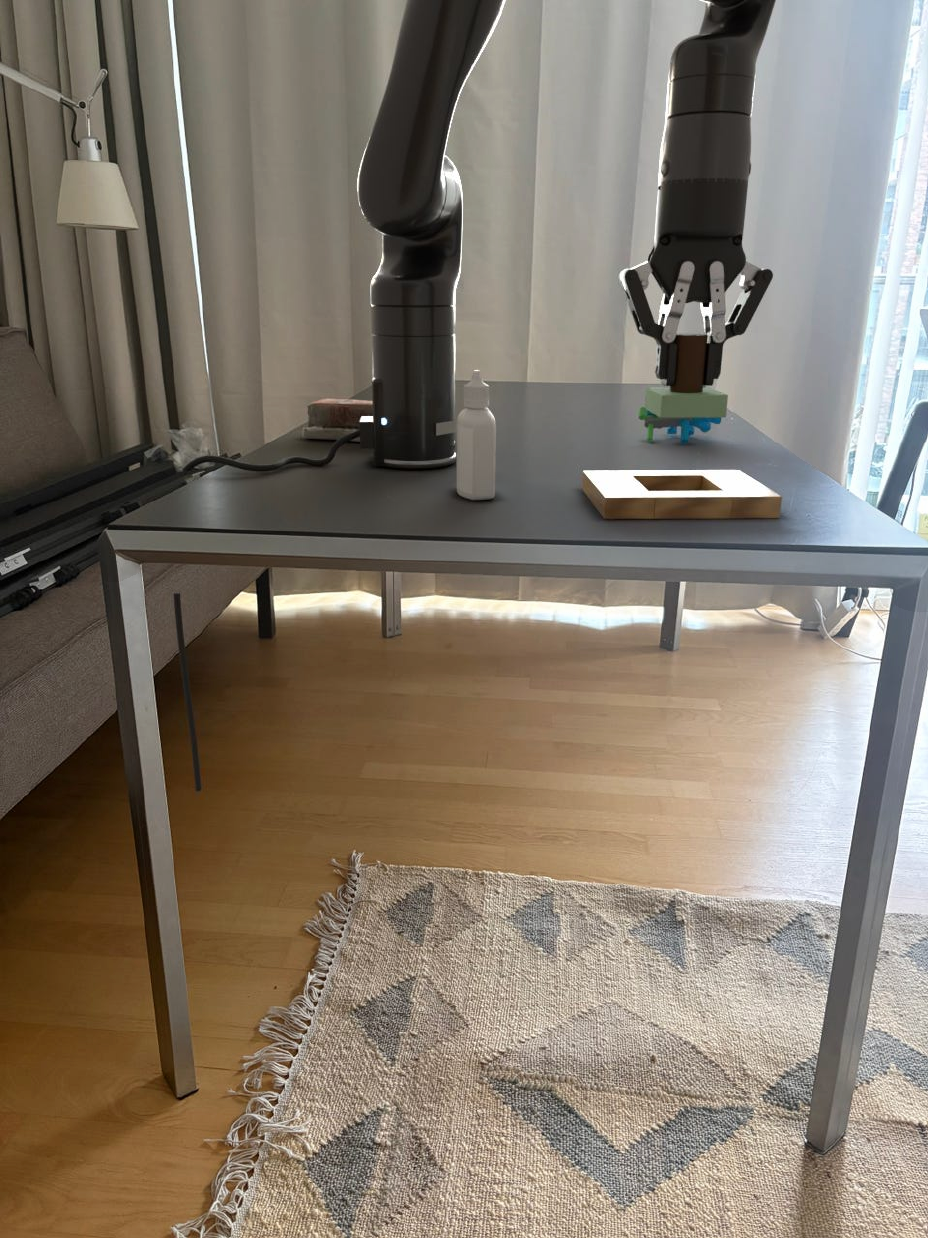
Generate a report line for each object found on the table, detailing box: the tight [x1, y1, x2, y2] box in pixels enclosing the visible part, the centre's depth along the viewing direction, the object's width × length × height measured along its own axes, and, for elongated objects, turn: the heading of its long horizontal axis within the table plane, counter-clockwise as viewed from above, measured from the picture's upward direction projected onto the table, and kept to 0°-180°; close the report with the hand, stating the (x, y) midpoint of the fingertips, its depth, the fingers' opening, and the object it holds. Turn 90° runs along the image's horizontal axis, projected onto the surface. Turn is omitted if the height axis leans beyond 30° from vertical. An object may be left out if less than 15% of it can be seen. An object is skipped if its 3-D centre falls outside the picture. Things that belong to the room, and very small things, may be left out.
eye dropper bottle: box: [456, 369, 497, 501], centre depth 90 cm, size 4×6×12 cm
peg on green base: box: [644, 333, 729, 418], centre depth 85 cm, size 6×6×7 cm
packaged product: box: [301, 398, 373, 443], centre depth 124 cm, size 18×5×10 cm
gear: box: [638, 385, 722, 445], centre depth 122 cm, size 11×6×10 cm
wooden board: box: [581, 469, 783, 520], centre depth 89 cm, size 16×12×2 cm
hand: (686, 383), depth 86 cm, fingers closed on peg on green base, 3 cm apart
